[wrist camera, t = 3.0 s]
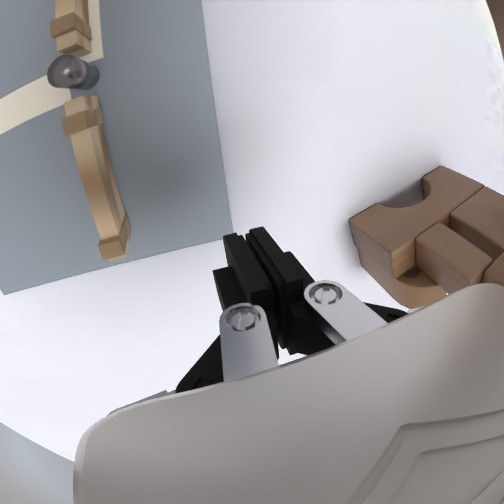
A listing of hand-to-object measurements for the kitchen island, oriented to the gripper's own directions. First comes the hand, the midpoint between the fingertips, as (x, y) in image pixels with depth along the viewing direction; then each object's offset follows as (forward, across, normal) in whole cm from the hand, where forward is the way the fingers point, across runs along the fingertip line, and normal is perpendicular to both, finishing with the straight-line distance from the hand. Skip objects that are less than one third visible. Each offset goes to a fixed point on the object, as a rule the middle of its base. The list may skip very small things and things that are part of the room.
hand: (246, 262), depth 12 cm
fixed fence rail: (+9, +7, -17) cm, 20 cm away
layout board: (+10, +10, -10) cm, 17 cm away
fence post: (+10, +7, -10) cm, 16 cm away
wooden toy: (+11, -20, +6) cm, 24 cm away
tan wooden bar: (+9, +7, -4) cm, 12 cm away
